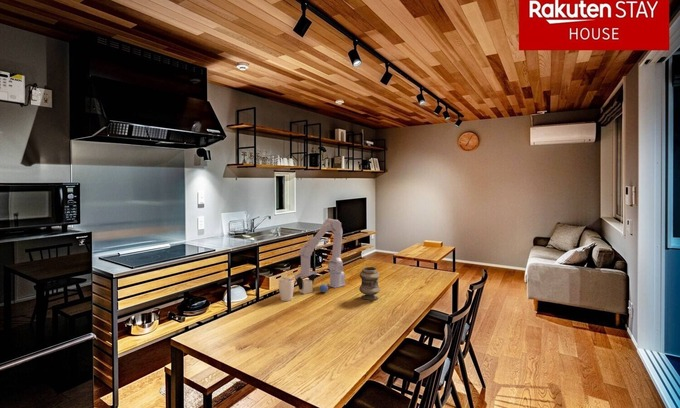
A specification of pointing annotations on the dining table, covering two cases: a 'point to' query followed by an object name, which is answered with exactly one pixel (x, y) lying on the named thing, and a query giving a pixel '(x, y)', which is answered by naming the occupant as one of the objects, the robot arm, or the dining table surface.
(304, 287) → the beige block
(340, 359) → the dining table surface
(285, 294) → the cup
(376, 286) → the apothecary jar
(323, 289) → the ball
